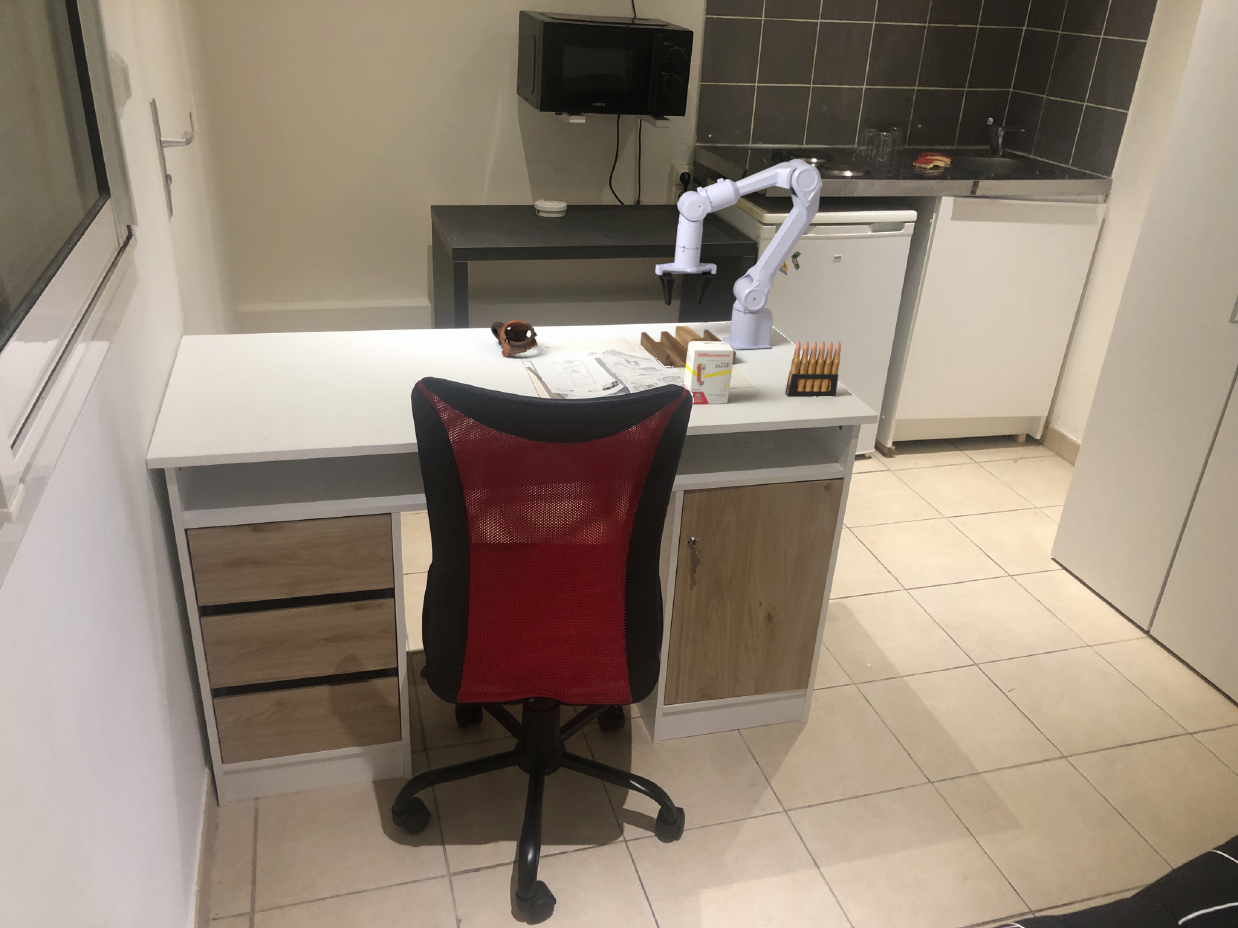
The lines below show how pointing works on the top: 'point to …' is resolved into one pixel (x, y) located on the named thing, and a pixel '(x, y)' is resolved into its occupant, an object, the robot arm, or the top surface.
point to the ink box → (709, 371)
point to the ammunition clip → (814, 372)
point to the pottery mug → (514, 336)
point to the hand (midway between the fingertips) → (682, 303)
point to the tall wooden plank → (686, 335)
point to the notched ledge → (672, 348)
